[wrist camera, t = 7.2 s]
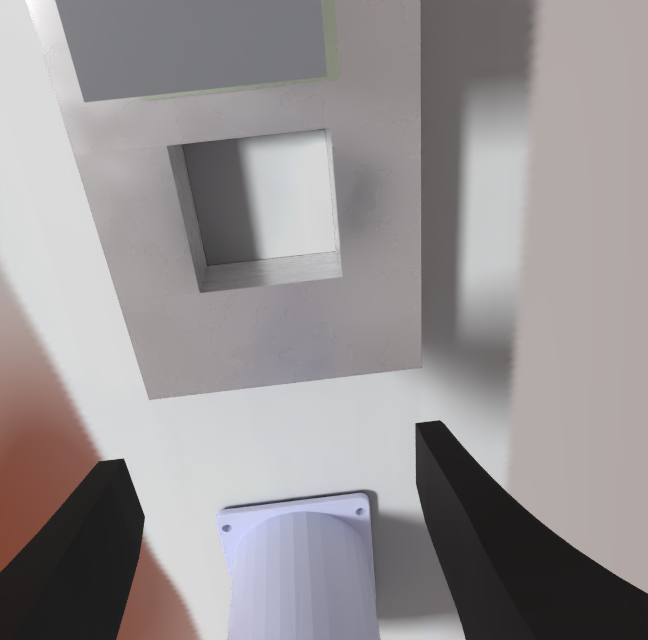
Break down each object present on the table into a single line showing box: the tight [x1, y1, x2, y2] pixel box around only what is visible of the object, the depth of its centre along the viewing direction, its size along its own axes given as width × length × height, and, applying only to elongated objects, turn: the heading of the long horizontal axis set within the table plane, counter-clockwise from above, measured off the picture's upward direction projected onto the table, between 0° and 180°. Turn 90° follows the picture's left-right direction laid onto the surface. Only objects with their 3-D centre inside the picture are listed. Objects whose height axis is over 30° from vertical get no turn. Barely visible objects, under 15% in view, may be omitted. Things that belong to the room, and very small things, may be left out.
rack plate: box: [26, 0, 422, 400], centre depth 18 cm, size 20×11×3 cm, turn 5°
